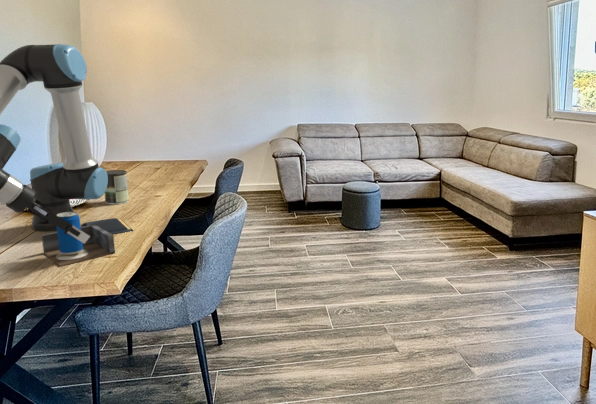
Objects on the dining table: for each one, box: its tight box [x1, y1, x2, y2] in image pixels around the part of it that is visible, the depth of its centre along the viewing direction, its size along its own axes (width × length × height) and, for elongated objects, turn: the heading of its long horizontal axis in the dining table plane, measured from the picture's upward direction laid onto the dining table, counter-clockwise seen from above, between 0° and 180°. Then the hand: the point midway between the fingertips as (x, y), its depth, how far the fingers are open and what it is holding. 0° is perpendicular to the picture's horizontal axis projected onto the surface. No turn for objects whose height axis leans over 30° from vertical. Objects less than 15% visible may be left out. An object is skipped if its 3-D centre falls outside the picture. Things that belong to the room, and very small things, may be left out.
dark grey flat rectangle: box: [80, 217, 134, 236], centre depth 166 cm, size 20×2×15 cm
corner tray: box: [40, 224, 116, 268], centre depth 140 cm, size 16×16×6 cm
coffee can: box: [104, 169, 130, 206], centre depth 203 cm, size 10×10×14 cm
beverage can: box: [56, 211, 83, 255], centre depth 136 cm, size 6×6×12 cm
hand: (82, 236), depth 139 cm, fingers open, 7 cm apart
